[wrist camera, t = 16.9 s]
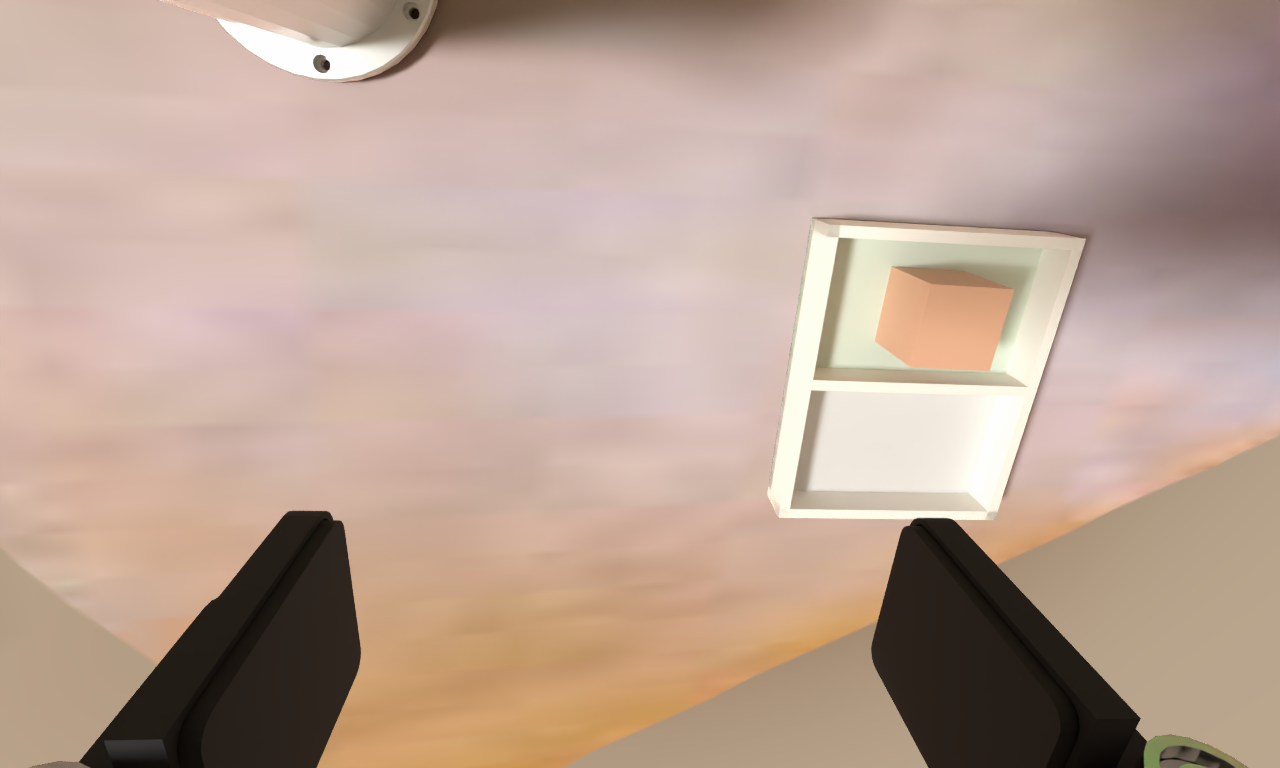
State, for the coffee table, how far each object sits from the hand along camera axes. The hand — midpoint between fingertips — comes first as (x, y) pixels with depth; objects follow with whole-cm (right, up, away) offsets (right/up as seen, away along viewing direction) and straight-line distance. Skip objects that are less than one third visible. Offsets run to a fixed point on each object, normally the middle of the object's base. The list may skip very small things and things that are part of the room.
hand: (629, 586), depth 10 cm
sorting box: (+18, +4, +33) cm, 38 cm away
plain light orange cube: (+19, +8, +30) cm, 36 cm away
